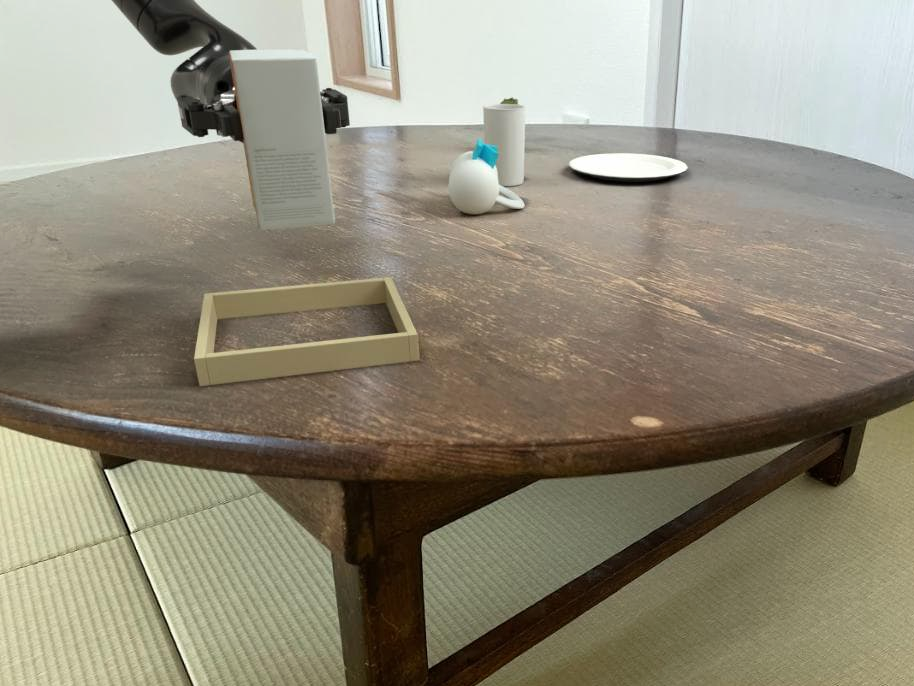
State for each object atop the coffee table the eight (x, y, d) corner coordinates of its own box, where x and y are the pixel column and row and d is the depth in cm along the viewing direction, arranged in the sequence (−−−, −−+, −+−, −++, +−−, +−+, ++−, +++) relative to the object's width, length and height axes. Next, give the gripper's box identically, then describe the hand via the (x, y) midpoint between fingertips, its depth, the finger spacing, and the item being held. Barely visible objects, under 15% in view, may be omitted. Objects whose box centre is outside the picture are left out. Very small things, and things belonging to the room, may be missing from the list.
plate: (687, 164, 148) (688, 155, 147) (686, 189, 130) (687, 178, 129) (576, 159, 151) (576, 150, 150) (559, 183, 133) (560, 172, 132)
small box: (252, 207, 71) (227, 49, 65) (325, 202, 73) (307, 48, 67) (257, 232, 65) (230, 58, 59) (336, 225, 67) (318, 56, 61)
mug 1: (531, 185, 131) (531, 108, 126) (493, 188, 129) (491, 110, 123) (508, 173, 140) (508, 100, 134) (472, 176, 137) (470, 102, 132)
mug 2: (464, 144, 107) (465, 130, 118) (439, 207, 111) (443, 188, 121) (543, 180, 110) (537, 163, 120) (517, 239, 113) (514, 218, 124)
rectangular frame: (200, 392, 63) (193, 358, 62) (209, 322, 77) (204, 293, 75) (420, 366, 68) (417, 334, 67) (393, 304, 81) (390, 276, 80)
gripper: (326, 133, 81) (376, 164, 68) (175, 144, 75) (198, 180, 62) (317, 53, 78) (368, 69, 65) (157, 57, 72) (179, 77, 59)
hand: (285, 123), depth 64 cm, fingers closed on small box, 7 cm apart
